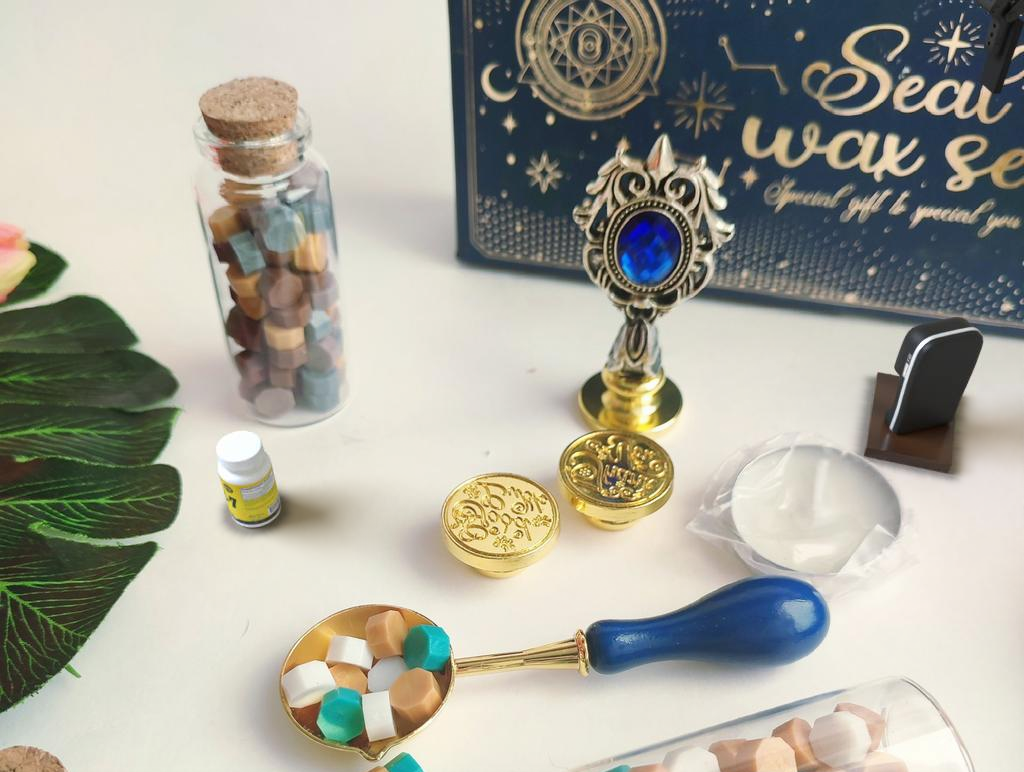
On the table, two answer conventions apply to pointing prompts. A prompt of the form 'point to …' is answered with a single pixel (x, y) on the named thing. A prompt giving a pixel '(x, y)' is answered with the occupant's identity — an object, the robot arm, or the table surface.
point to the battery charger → (933, 373)
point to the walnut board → (905, 434)
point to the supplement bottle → (248, 479)
